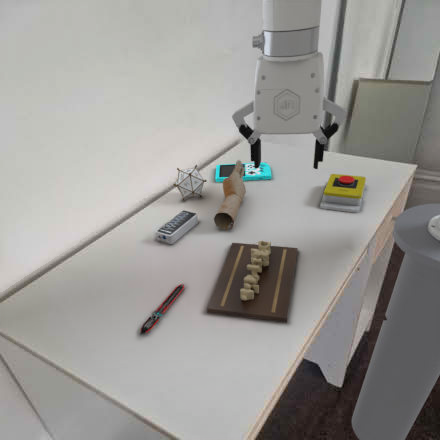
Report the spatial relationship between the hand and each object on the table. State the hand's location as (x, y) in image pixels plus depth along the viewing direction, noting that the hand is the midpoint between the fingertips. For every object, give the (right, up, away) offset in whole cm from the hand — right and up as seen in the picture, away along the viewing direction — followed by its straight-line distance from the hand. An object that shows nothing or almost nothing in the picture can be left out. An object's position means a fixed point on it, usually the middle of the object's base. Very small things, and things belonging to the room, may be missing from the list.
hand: (286, 165), depth 62 cm
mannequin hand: (-8, +1, +33) cm, 34 cm away
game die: (-19, +4, +38) cm, 43 cm away
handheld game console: (-4, +14, +47) cm, 49 cm away
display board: (-4, -19, +10) cm, 21 cm away
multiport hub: (-21, -7, +25) cm, 33 cm away
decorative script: (-4, -18, +9) cm, 21 cm away
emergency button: (+20, +3, +33) cm, 39 cm away
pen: (-21, -24, +5) cm, 33 cm away
